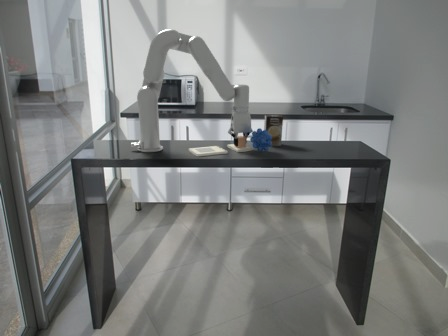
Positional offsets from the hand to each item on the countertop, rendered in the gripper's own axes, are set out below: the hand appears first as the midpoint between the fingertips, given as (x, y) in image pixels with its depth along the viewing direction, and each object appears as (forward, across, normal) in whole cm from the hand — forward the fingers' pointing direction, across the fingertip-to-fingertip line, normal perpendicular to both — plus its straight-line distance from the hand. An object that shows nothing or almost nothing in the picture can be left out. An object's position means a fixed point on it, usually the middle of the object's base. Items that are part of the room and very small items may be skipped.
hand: (240, 144), depth 184 cm
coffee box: (+2, +21, +2) cm, 21 cm away
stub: (+2, 0, 0) cm, 2 cm away
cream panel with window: (+2, -18, 0) cm, 18 cm away
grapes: (+2, +7, -10) cm, 12 cm away
